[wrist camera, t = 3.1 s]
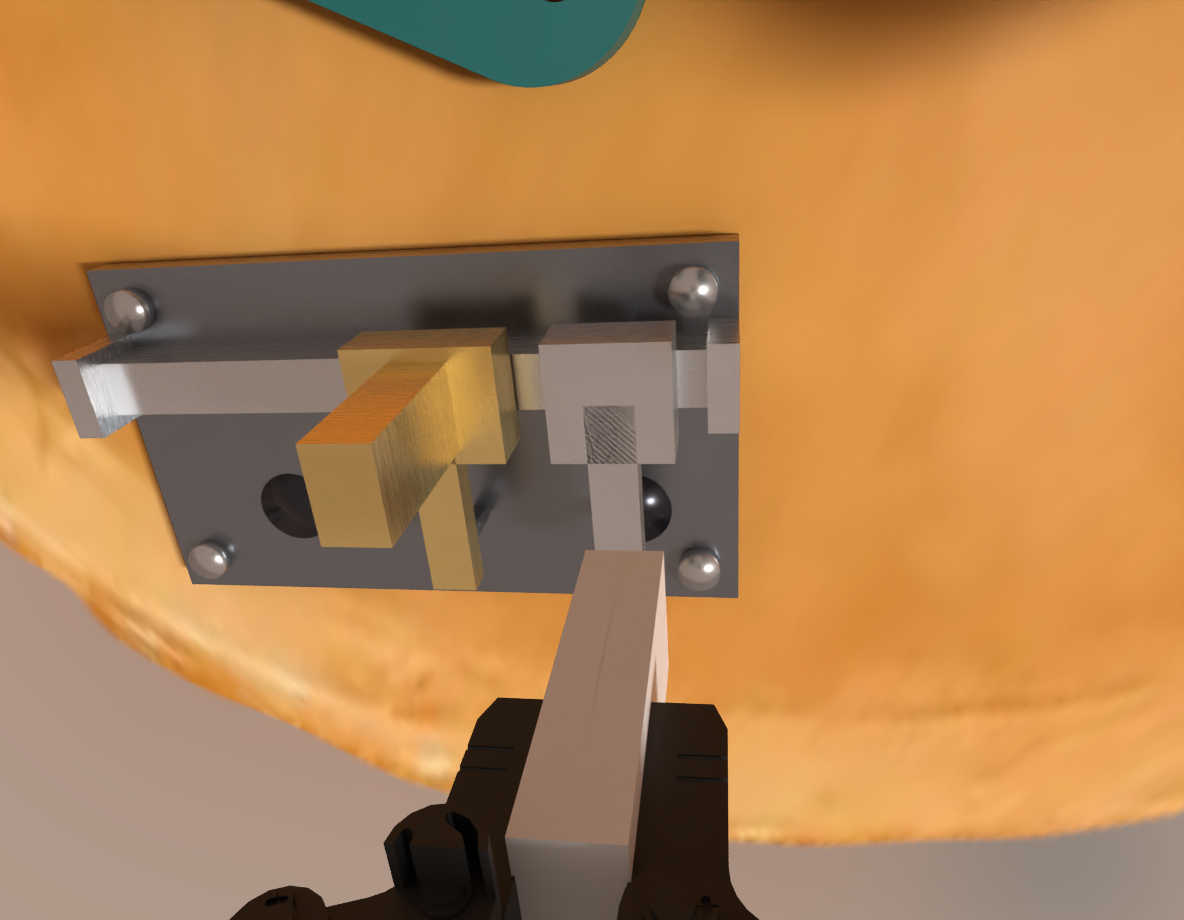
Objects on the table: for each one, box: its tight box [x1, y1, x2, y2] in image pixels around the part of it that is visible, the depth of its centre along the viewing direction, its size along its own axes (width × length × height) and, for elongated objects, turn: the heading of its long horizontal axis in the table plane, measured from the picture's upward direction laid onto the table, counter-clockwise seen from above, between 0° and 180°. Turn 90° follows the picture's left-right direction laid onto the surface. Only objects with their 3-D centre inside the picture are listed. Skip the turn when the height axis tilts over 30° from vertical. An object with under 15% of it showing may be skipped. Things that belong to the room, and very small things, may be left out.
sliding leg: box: [295, 327, 520, 590], centre depth 26 cm, size 9×5×10 cm, turn 4°
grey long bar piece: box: [51, 316, 740, 551], centre depth 30 cm, size 9×24×4 cm, turn 94°
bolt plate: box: [86, 234, 739, 598], centre depth 32 cm, size 14×24×2 cm, turn 94°
